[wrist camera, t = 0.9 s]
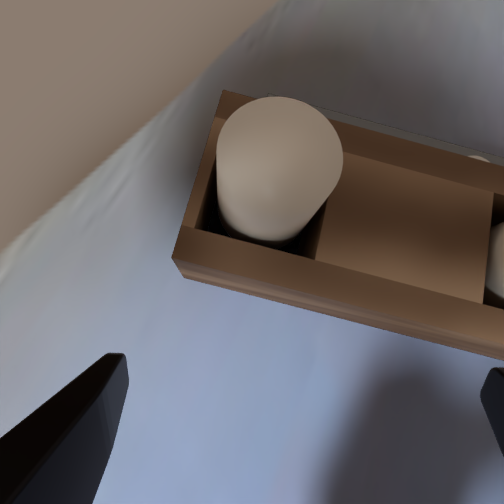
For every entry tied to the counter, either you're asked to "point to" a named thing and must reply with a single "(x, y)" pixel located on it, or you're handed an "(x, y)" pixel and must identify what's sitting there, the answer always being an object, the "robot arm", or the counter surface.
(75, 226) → the counter surface
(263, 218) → the beige cylinder
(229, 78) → the counter surface
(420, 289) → the button console
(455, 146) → the pattern card
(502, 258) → the unmarked button
